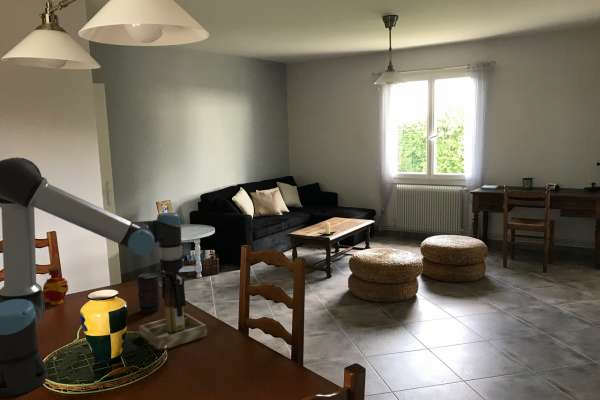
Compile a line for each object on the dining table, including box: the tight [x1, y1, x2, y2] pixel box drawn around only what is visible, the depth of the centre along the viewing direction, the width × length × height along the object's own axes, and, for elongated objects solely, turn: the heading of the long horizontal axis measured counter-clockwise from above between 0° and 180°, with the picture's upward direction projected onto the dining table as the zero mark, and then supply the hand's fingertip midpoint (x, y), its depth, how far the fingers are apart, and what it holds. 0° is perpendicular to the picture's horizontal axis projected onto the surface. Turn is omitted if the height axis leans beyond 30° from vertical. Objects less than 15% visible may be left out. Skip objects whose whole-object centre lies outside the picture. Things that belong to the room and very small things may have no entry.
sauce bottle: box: [163, 278, 185, 335], centre depth 163 cm, size 7×6×20 cm
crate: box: [138, 312, 208, 349], centre depth 165 cm, size 18×16×4 cm
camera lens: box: [137, 272, 160, 315], centre depth 190 cm, size 8×8×15 cm
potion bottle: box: [42, 267, 69, 306], centre depth 202 cm, size 10×10×15 cm
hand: (174, 321), depth 163 cm, fingers closed on sauce bottle, 6 cm apart
